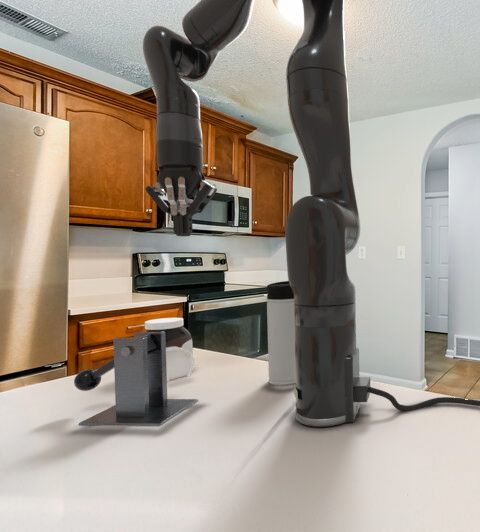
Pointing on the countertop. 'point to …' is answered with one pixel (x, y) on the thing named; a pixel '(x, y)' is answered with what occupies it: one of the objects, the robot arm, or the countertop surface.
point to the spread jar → (175, 346)
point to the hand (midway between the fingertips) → (183, 236)
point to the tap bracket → (140, 385)
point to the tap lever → (101, 371)
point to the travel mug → (281, 334)
